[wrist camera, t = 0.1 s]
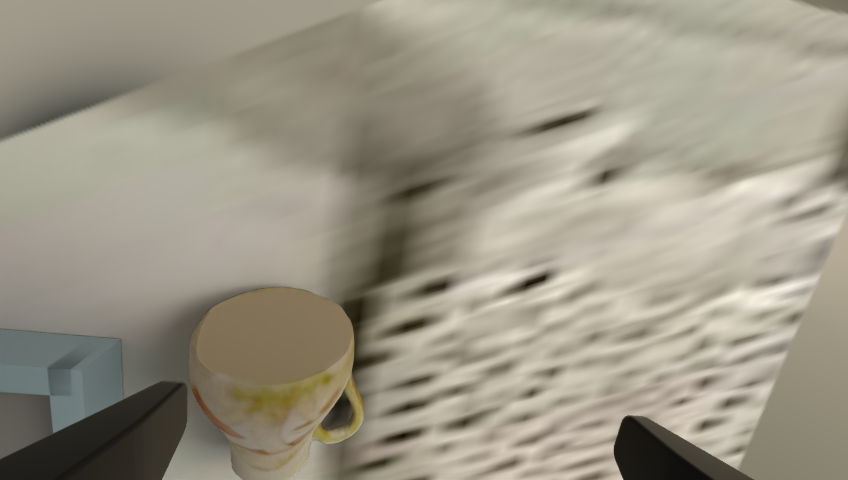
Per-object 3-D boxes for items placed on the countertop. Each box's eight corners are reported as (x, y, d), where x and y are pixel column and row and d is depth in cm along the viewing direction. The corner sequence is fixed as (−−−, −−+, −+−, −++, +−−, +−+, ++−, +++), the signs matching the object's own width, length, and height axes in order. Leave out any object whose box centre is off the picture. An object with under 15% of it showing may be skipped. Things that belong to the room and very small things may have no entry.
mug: (222, 449, 24) (76, 492, 15) (289, 292, 27) (202, 245, 18) (339, 496, 23) (260, 576, 14) (396, 328, 26) (364, 297, 16)
